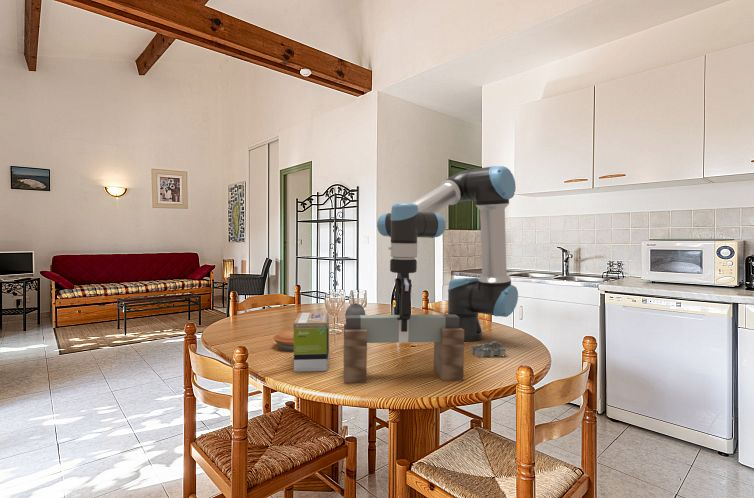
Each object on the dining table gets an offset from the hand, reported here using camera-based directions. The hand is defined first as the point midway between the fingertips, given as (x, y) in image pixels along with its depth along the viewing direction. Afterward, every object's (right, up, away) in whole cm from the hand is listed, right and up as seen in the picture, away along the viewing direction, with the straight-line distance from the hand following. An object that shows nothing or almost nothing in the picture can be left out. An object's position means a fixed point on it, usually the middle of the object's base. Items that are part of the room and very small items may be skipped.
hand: (401, 340), depth 118 cm
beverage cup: (-15, -9, +28) cm, 33 cm away
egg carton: (+31, -10, +22) cm, 39 cm away
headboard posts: (0, -10, 0) cm, 10 cm away
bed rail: (0, 0, 0) cm, 0 cm away
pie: (-36, -9, +29) cm, 47 cm away
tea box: (-27, -10, +10) cm, 30 cm away
